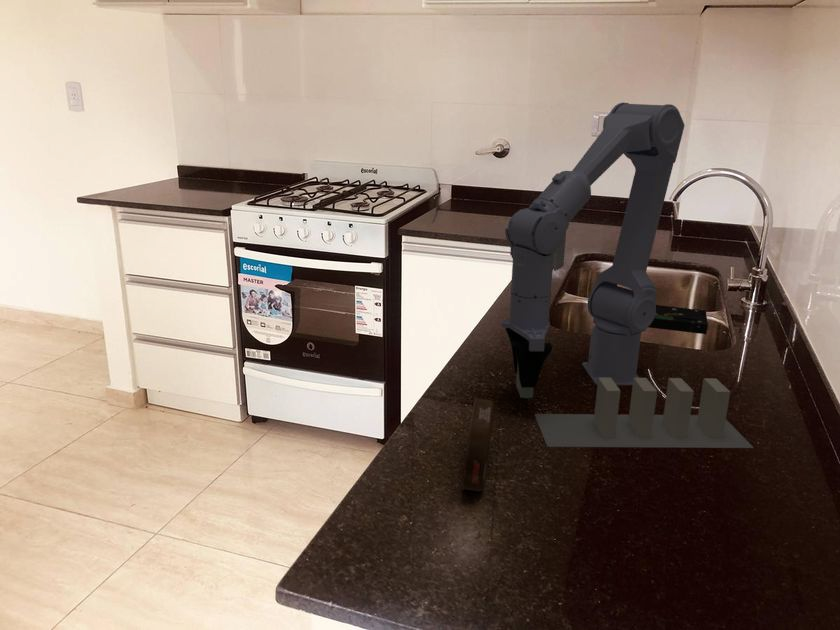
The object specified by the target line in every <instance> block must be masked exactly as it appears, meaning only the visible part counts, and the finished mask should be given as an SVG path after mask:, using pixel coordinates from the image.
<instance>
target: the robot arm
mask: <svg viewBox="0 0 840 630" xmlns="http://www.w3.org/2000/svg"><path fill="white" fill-rule="evenodd" d="M684 130H685V122H684V120H683V117H682V116H681V113H680V111H679V109H678V108H677V106H675V105H674V104H670V103H669V104H667V103H666V104H663V105H661V104H644V103H643V104H642V103H641V104H640V103H629V102H619V103H618V104H616V105H614V106H613V108H611V110H610V112H609V113H608V114H607V115H606V116H605V117H604V118H603V124H602V131H601V132H600V134H599V135H598V136H597V137H596V139H595V140H594V141H593V143H592V144H591V145H590V147H589V148H588V149H587V151H586V152H585V153H584V155H583V156H582V157H581V158H580V159H579V161H578V162H577V164H576V165H575V166H574V168H573V169H572V170H563V171H561V172H559V173H558V172H557V173H556V174H555V175H554V176H553V177H552V178H551V182H550V183H549V184H548V185H547V186H546V188H545V189H544V190H542V192H541V193H540V194H539V195H538V196H537V197H536V198H535V199H534V200H533V201H532V202H531V204H530V205H529V207H527V208H524V207H523V208H522V209H519V210H518V211H516V212H515V213H514V214H513V215H512V216H511V217H510V219H509V221H508V224H507V227H506V228H505V229H504V234H505V239H506V241H507V243H508V244H509V247H510V251H509V252H510V253H509V255H510V256H511V258H512V265H511V266H512V269H511V283H510V284H511V286H510V288H511V289H510V301H509V302H510V303H509V304H510V305H509V318H508V319H505V318H504V319H501V320H500V322H501V323H500V325H501V327H502V328H504V329H505V332H506V334H507V335H508V338H509V342H510V346H511V353H512V360H513V367H514V371H515V374H516V375H517V362H518V369H519V380H520V384H521V387H534V388H536V386H537V383H538V380H539V377H540V374H541V371H542V368H543V365H544V363H545V361H546V359H547V358H548V356H549V355H550V354H551V352H552V350H553V345H552V344H551V343H550V342H546V338H545V337H546V336H547V334H548V332H549V330H550V326H551V322H550V308H551V296H552V280H553V271H554V270H553V257H554V252H555V251H556V250H557V249H558V248H560V247H561V245H562V243H563V241H564V237H565V232H566V233H567V230H568V229H569V226H570V222H571V221H572V220H573V219H574V218H575V216H577V214H578V213H579V212H580V210H581V209H582V208H583V207H584V206H585V205H586V204H587V202H588V201H589V200H590V199H591V196H592V187H591V186H592V185H593V184H594V183H595V182H596V181H597V180H598V179H599V178H600V177H601V176H602V175H603V174H604V173H605V172H606V171H607V170H608V169H609V168H610V167H611V166H612V165H613V164H614V163H615V162H616V161H617V160H619V159H620V157H622V156H623V155H624V156H625V157H626V158H627V159H629V160H630V161H631V163H632V164H633V167H634V169H635V171H634V174H633V178H632V183H631V188H630V191H629V196H628V200H627V204H626V209H625V211H624V216H623V220H622V223H621V228H620V232H619V237H618V240H617V244H616V248H615V253H614V258H613V261H612V264H611V266H609V267H608V268H606V269H605V270H603V271H601V272H600V273H598V275H597V277H596V281H595V284H594V286H593V288H592V289H591V291H590V293H589V295H588V298H587V311H588V314H589V315H590V316H591V317H592V318H593V320H592V323H593V324H594V325H593V327H592V329H591V331H590V341H589V350H588V351H589V352H588V361H583V362H582V367H583V368H584V370H585V371H586V373H587V374H588V376H589V377H590V378H591V380H592V382H593V383H594V385H596V386H597V385H598V377H605V378H612V380H613V381H614V382H615V384H616V385H617V386H633V378H640V376H639V375H638V374H637V371H638V370H637V369H638V364H639V363H638V362H639V354H640V347H641V337H642V332H646V330H647V329H648V327H649V326H650V324H651V323H652V321H653V319H654V317H655V313H656V305H657V304H656V303H657V302H656V297H657V293H658V287H657V286H656V283H654V282H653V280H652V279H651V277H650V276H649V275H648V273H647V271H648V270H647V269H648V265H649V262H650V258H651V253H652V250H653V248H654V247H653V246H654V242H655V238H656V234H657V231H658V230H657V229H658V227H659V221H660V218H661V215H662V210H663V206H664V202H665V199H666V195H667V192H668V187H669V183H670V179H671V174H672V171H673V167H674V164H675V163H676V160H677V157H678V152H679V150H680V149H679V148H680V145H681V141H682V137H683V134H684ZM621 286H622V287H621ZM625 287H626V288H625Z"/></svg>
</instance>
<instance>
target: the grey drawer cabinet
mask: <svg viewBox="0 0 840 630" xmlns="http://www.w3.org/2000/svg"><path fill="white" fill-rule="evenodd" d="M566 238H567V231H566V232H565V237H564V241H563V243H562V245H561V247H560V248H558V249H557V250H556V251H555V252H554V257H553V269H554V270H553V271H557V270H558V269H560V268H561V267H563V266H564V264H565V252H566V251H565V250H566V240H567V239H566ZM562 265H563V266H562ZM556 269H557V270H556Z"/></svg>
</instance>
